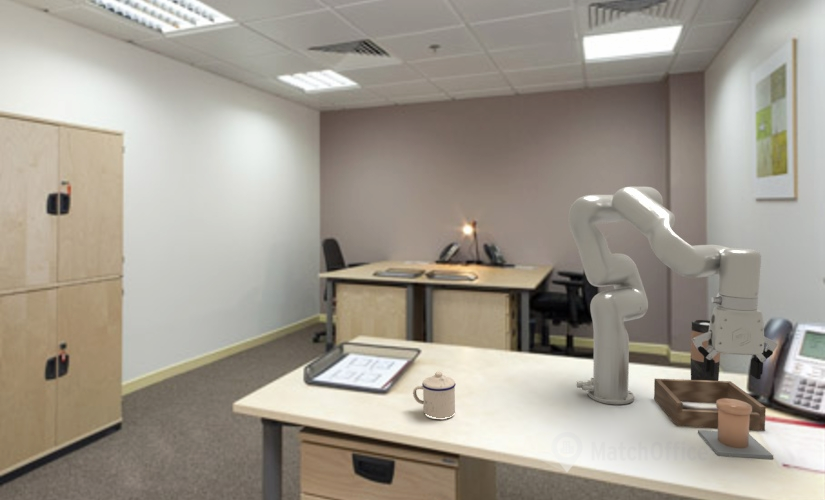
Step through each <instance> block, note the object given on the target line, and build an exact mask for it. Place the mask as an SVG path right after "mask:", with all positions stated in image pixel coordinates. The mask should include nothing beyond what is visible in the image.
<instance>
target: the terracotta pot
mask: <svg viewBox="0 0 825 500" xmlns="http://www.w3.org/2000/svg"><path fill="white" fill-rule="evenodd" d="M715 405H716V408H717V409H718V410H717V411H718V428H717V431H718V438H717V439H718V441H719V442H720V443H722V444H724V445H727V446H730V447H734V448H746V447H748V446H749V434H750V430H749V419H750V414H752V406H751V405H750V404H748V403H746V402H743V401H740V400H736V399H728V398H723V399H718V400H717V403H715Z"/></svg>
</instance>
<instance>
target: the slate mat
mask: <svg viewBox="0 0 825 500" xmlns="http://www.w3.org/2000/svg"><path fill="white" fill-rule="evenodd" d="M697 434H698V435H699V436H700V438H701V439H702V440H703V441H704V442H705V443H706V445H708V446H709V448H711V450H712V451H713V452H714V453H715V454H716V455H717V456H718V457H732V458H735V457H736V458H747V459H748V458H751V459H753V458H754V459H764V460H765V459H767V460H774V454H772V453H771V452H770V451H769V450H768V449H767V448H765V447H764V446H763V445H762V444H761V443H760V442H759V441H758V440H757V439H755V438H754V437H753V436H752V435H751V434H750V433H749V446H748V447H746V448H734V447H730V446H727V445H724V444H722V443H720V442H719V441H718V439H717V438H718V430H703V429H697Z"/></svg>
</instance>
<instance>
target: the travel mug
mask: <svg viewBox="0 0 825 500" xmlns="http://www.w3.org/2000/svg"><path fill="white" fill-rule="evenodd" d="M709 324H710V320H709V319H708V320H707V319H696V320H695V321H694V322H693V321H691V336H690V338H691V339H690V380H708V381H720V380H719V378H720V366H721V365H720V364H721V353H719V352H718V353H717V354H716V355H715V356H714V357H713V360H714V361H715V365H714V376H713V377H710V376H709V375H707V374H706V373H705V371H704V370H703V363H704V356H703V355H702V354H701V353H700V352H699V351H698V350H697V349H696V346H695V345H694V343H693V341H692V339H693V338H694V337H697V336H699V335H702V334H704V333H707V332H708V331H709ZM702 345H703V348H704V349H706V348H707V347H708V340H706V341H704V342H702Z"/></svg>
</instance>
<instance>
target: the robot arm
mask: <svg viewBox="0 0 825 500" xmlns="http://www.w3.org/2000/svg"><path fill="white" fill-rule="evenodd" d="M567 218H568V221H567V222H568V227H569V231H570V233H571V235H572V237H573V240H574V242H575V244H576V247H577V249H578V250H577V251H578V255H579V258H580V260H581V265H582V267H583V271H584V274H585V277H586V280H587V281H588V283H589V284H590V285H591V286H593V287H599V288H601V287H603V288H604V287H612V286H613V289H608V290H604V291H601V292H598V293H597V294H595V295H594V296H593V297H592V299H591V301H590V304H589V306H590V307H589V310H590V316H591V320H592V328H593V329H592V331H593V369H592V370H593V376H592V377H591V378H590V380H587V381H582V380H577V381H576V387H577V388H579V389H582V390H583V391H587V396H589V397H590V398H591V399H592V400H594V401H596V402H599V403H603V404H608V405H627V404H631V403H632V402H634V400H635V395H634V393H633V392H631V391H630V390H629V374H630V373H629V371H630V370H629V367H630V366H629V364H630V363H629V360H630V359H629V357H630V355H629V354H630V337H629V334H628V333H629V332H628V331H627V329H626V325H625V323H624V322H628V321H634V320H637V319H640V318H643V317H644V316H645V315H646V313H647V311H648V308H649V300H648V296H647V294H646V290H645V288H644V287H645V286H644V284H643V281H642V278H641V275H640V273H639V269H638V267H637V263H635V262H634V260H633V259H632V258H631V257H630V256H629V255H627V254H624V253H612V251H611V249H610V247H609V245H608V240H607V238H606V236H605V234H604V233H603V232H602V231H601V230H600V228H599V227H598V226H597V224H612V223H623V222H627V223H629V224H630V225H631V226H632V227H634V228H635V229H636V230H637V231H638V232H640V233H641V234H642V235H644V236H645V237H646V238H647V240H648V243H649V246H650V249H651V250H652V252H653V254H654V255H655V256H656V257H657V259H658V260H660V261H661V262H662V264H664V265H665V266H667V267H668V268H669V269H671V271H673V272H674V273H676V274H678V275H679V276H682V277H684V278H687V279H697V278H704V277H713V276H719V277H718V290H717V291H718V292H717V294H716V296H713V297H711V300H710V301H711V303H712V304H715V305H717V306H714V307H713V310H712V313H711V316H710V319H709V321H710V324H709V331H708V332H707V333H704V334H702V335H699V336H697V337H694V338H693V339H692V341H693V343H694V345H695V346H696V349H697V350H698V351H699V352H700V353H701V354H702V355H703V356H704V363H703V370H704V371H705V373H706V374H707V375H709V376H710V377H713V376H714V365H715V361H714V360H713V357H714V356H715V355H716V354H717V353H718V352H719V353H720V354H723V355H725V354H727V355H738V356H739V355H740V356H741V355H742V356H743V355H744V356H745V355H746V356H753V357H751V359H750V369H749V375H750V376H752V377H754V379H756V380H761V378H762V377H761V376H762V375H763V372H764V371H763V369H764V363H766V362H767V359H768V358H770V357H772V356H773V355H774V352H775V351H776V349H777V348H778V345H779V342H776V341H775V340H772V339H771V338H768V337H766V336H765V329H764V328H765V327H764V319H763V318H764V317H763V312H762V310H760V309H758V304H759V292H760V291H759V289H760V280H761V279H760V278H761V267H762V266H761V265H762V255H761V253H760V251H758V250H756V249H752V248H744V247H739V248H738V247H728V246H724V245H719V244H699V245H698V244H697V245H691V244H689V243H688V242H687V241H686V240H684V239H683V238H681V236H679V235H678V234H676V232H674V230H673V227H674V225H675V222H676V216H675V214H674V213H673V212H672V211H670V210H669V209H667V208H666V207H664V199H663V195H662V194H661V193H660V191H659V190H657V189H656V188H654V187H651V186H625V187H621V188H620V189H617V191H616V192H615V193H614V194H588V195H584V196H581V197H578V198H577V199H576V200H575V201H574V202H572V204H571V206H570V208H569V211H568V215H567ZM706 340H708V347H707V348H706V349H704V348H703V345H702V342H704V341H706ZM765 344H766V346H765Z"/></svg>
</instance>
